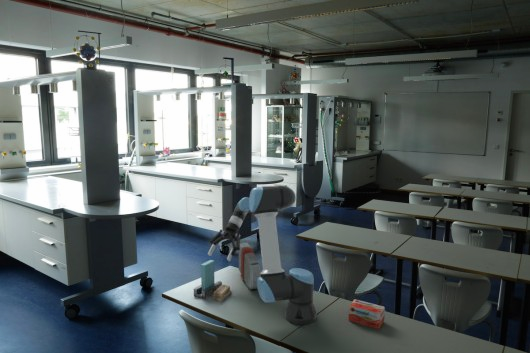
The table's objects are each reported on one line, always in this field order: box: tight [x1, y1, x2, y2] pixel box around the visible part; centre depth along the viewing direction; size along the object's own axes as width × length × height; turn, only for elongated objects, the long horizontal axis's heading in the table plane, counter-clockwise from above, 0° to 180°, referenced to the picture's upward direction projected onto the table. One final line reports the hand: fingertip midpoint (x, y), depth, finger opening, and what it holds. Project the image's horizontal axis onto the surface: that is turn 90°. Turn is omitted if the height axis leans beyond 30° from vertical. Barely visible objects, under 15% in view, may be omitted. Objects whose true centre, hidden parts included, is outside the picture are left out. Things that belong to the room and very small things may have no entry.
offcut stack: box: [211, 284, 232, 303], centre depth 214 cm, size 6×11×4 cm, turn 155°
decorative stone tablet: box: [238, 242, 262, 290], centre depth 230 cm, size 19×6×30 cm
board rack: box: [193, 280, 223, 300], centre depth 219 cm, size 8×15×4 cm, turn 149°
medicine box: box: [348, 299, 386, 330], centre depth 190 cm, size 15×8×8 cm, turn 60°
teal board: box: [200, 259, 216, 291], centre depth 218 cm, size 2×8×17 cm, turn 149°
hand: (218, 257), depth 226 cm, fingers open, 13 cm apart
